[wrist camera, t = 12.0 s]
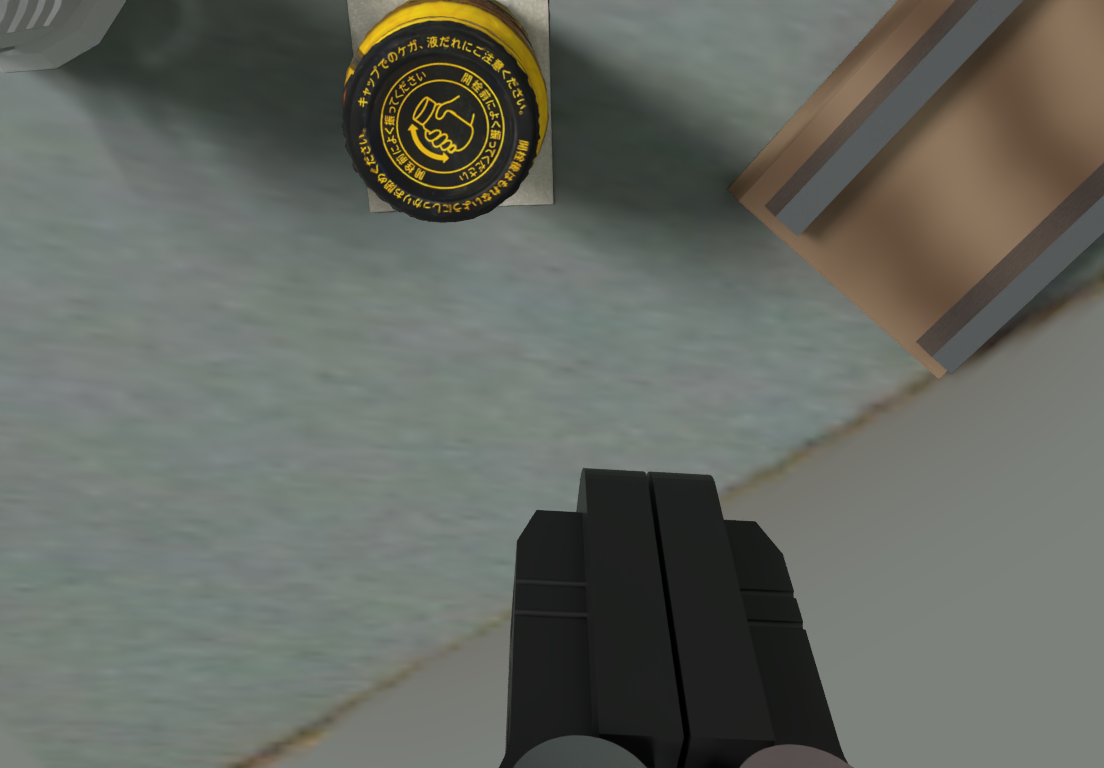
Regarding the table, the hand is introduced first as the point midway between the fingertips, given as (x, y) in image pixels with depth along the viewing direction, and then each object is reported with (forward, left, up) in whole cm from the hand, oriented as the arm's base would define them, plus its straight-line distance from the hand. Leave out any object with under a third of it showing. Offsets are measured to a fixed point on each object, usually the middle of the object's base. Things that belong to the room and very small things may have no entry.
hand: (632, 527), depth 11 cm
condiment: (-1, -3, -28) cm, 28 cm away
